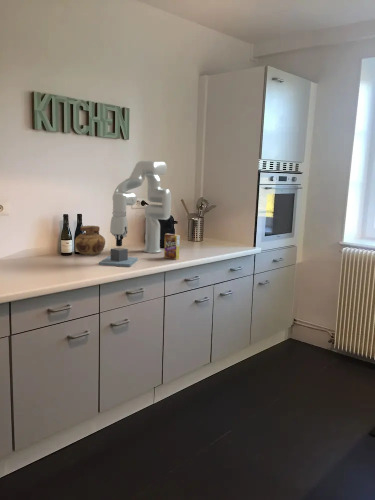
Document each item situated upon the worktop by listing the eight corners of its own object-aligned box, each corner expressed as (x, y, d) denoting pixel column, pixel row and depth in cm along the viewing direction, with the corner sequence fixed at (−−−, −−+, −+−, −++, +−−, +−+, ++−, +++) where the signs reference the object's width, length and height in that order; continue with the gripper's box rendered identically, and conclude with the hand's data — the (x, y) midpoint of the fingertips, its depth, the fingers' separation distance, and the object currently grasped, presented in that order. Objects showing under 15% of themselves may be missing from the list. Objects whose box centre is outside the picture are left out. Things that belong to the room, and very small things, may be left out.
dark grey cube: (110, 259, 256) (110, 248, 255) (119, 258, 262) (119, 247, 260) (119, 261, 252) (119, 250, 251) (127, 259, 257) (127, 248, 256)
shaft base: (109, 258, 268) (109, 248, 267) (137, 260, 266) (138, 250, 265) (98, 265, 248) (98, 254, 247) (130, 266, 246) (130, 256, 245)
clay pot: (101, 253, 266) (89, 222, 264) (75, 262, 271) (63, 232, 269) (113, 248, 285) (102, 219, 282) (88, 256, 289) (77, 228, 287)
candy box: (163, 258, 275) (164, 233, 272) (167, 256, 279) (168, 233, 276) (175, 259, 271) (176, 235, 268) (179, 258, 274) (180, 234, 272)
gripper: (105, 213, 253) (105, 245, 256) (124, 216, 245) (123, 248, 248) (115, 213, 259) (114, 243, 262) (133, 215, 251) (132, 247, 254)
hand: (119, 246), depth 255 cm, fingers closed
